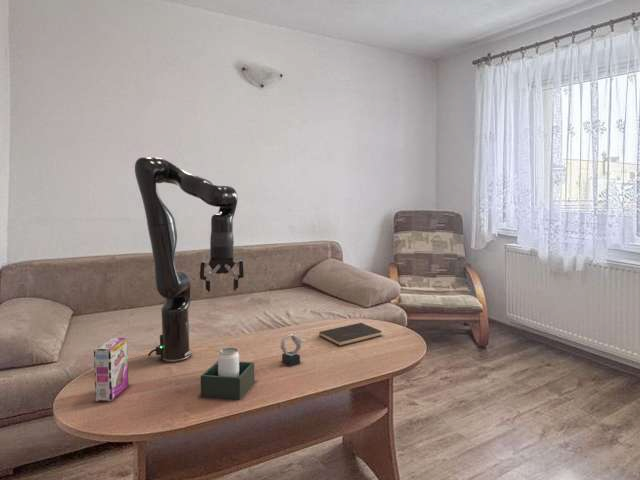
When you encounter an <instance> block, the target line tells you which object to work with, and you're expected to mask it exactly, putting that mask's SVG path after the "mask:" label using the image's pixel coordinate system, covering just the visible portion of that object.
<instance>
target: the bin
mask: <svg viewBox="0 0 640 480" xmlns="http://www.w3.org/2000/svg"><path fill="white" fill-rule="evenodd" d="M254 383H255V362H253V361H239V377H226V376H218V360H217V361H216V362H214V364H212V365H211V366H210V367H209V368H207V370H205V371H204V372H203V373H202V374H201V375H200V397H202V398H215V399H216V398H217V399H231V400H241V399H242V397H244V395H245V394H246V393H247V391H248V390H250V388H251V386H252V385H253V384H254Z"/></svg>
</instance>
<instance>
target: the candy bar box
mask: <svg viewBox="0 0 640 480" xmlns="http://www.w3.org/2000/svg"><path fill="white" fill-rule="evenodd" d="M128 357H129V355H128V338H127V337H111V338H110V339H108V340H106V341H105V342H104V343H102V344H101V345H99V346H97V347H96V348H94V349H93V364H94V365H93V366H94V368H93V369H94V392H95V395H94V396H95V402H112V401H114V400H115V399H116V398H117V397H118V396H119V395H120V394H121V393H122V392H123V391H124V390H125V389H126V388H127V387H128V386H129V361H128Z"/></svg>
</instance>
